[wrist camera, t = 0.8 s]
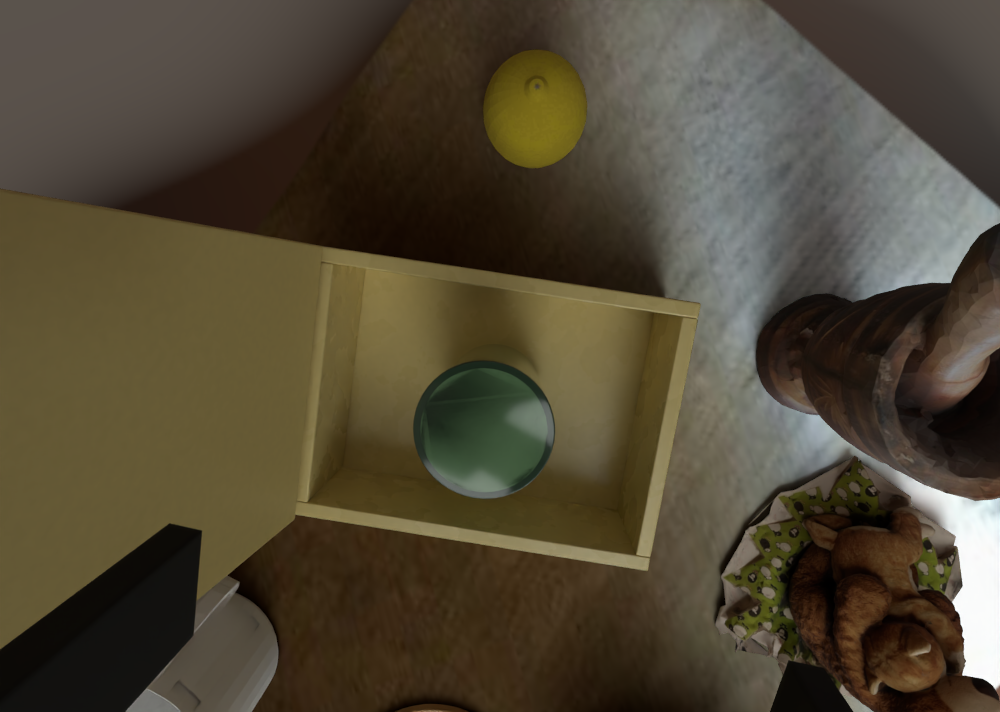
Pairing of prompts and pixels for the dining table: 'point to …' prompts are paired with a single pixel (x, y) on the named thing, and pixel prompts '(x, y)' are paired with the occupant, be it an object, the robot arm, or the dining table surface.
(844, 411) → the mortar and pestle
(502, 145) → the lemon
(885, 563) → the bear figurine
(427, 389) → the green can
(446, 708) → the trivet
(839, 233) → the dining table surface
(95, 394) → the lid
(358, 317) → the open rectangular box
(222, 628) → the mug
